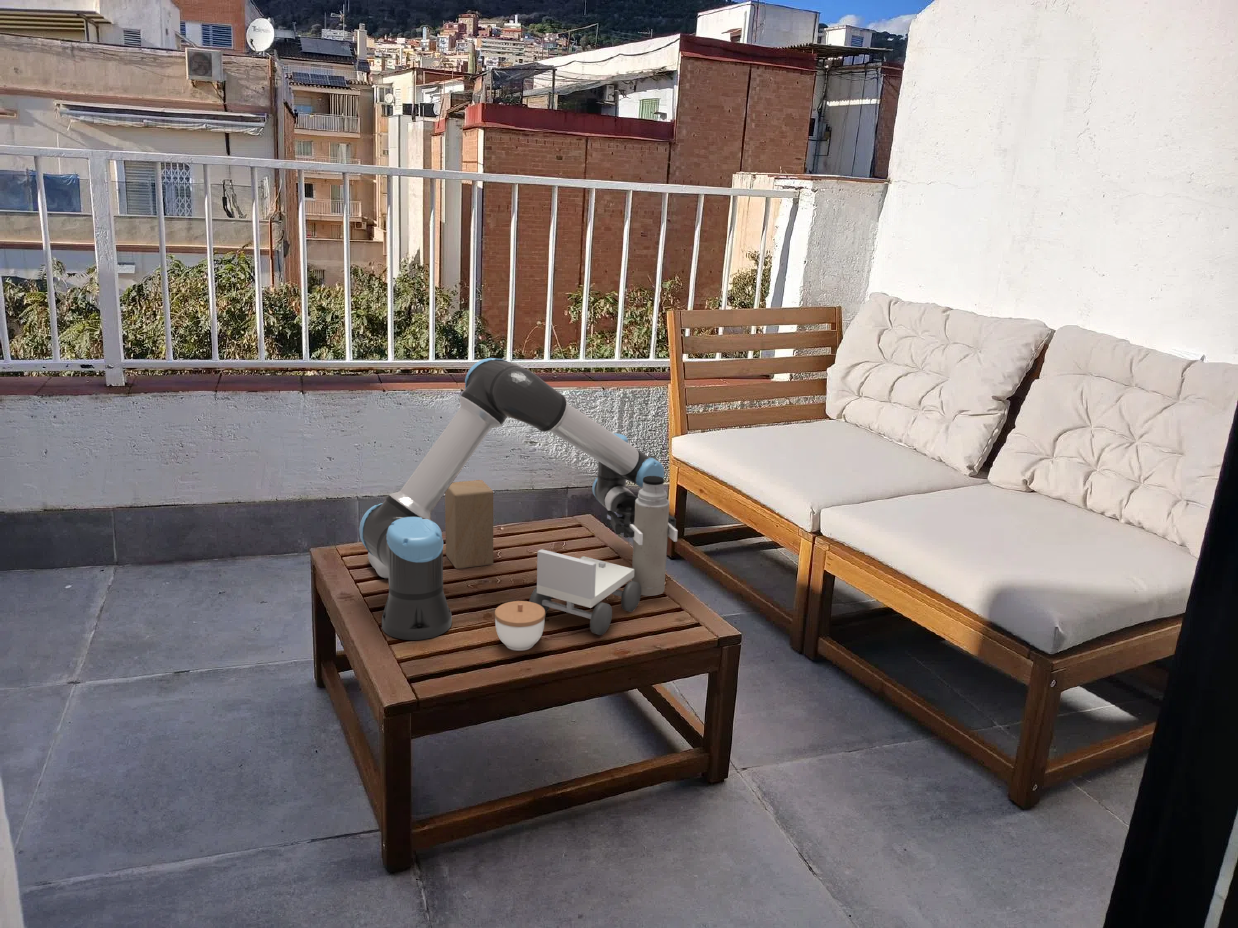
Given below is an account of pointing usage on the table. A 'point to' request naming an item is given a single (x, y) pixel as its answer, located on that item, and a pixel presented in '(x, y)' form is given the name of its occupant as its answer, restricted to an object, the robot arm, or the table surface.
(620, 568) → the trolley
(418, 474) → the robot arm
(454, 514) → the wooden block
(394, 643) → the table surface
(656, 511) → the thermos bottle
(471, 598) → the table surface
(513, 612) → the lidded jar
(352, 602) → the table surface
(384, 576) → the decorative stone
